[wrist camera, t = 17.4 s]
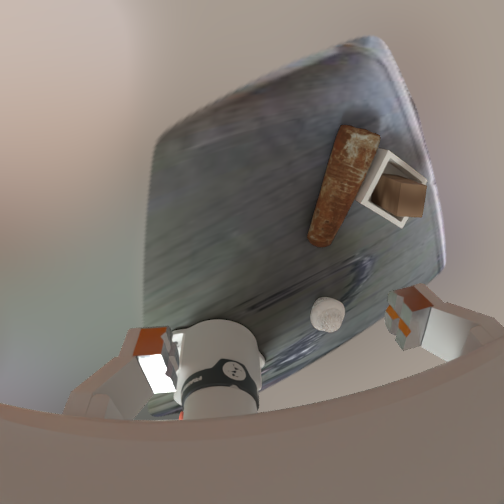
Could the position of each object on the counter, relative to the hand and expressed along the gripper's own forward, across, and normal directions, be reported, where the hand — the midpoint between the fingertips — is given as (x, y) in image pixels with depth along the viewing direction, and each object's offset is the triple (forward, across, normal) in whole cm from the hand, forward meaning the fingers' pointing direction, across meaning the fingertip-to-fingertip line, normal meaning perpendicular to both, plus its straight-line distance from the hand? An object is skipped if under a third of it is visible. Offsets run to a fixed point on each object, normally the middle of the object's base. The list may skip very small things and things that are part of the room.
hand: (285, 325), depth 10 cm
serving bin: (+34, -22, +3) cm, 41 cm away
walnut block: (+33, -23, +4) cm, 40 cm away
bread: (+35, -15, +3) cm, 38 cm away
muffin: (+34, -12, +24) cm, 44 cm away
